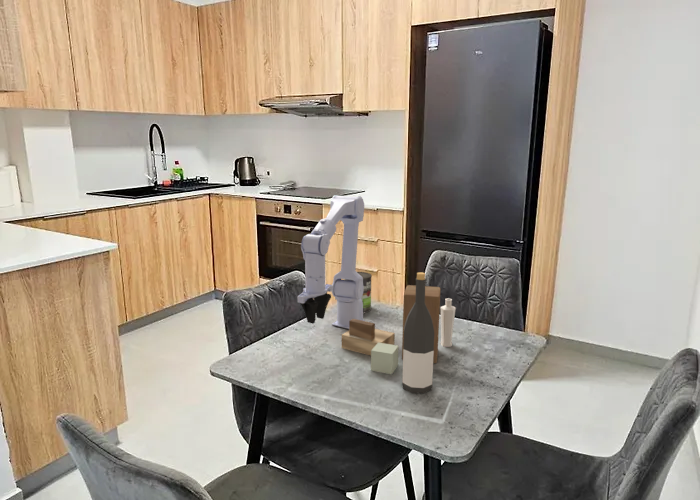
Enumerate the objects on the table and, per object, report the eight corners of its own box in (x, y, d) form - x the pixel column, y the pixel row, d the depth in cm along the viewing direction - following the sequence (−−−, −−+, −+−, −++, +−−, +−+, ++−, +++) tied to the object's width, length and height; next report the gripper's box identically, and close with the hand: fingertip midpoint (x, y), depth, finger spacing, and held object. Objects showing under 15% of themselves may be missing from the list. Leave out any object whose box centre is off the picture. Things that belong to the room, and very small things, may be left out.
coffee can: (376, 310, 183) (377, 274, 180) (360, 317, 175) (360, 280, 172) (354, 305, 189) (354, 269, 186) (338, 311, 181) (338, 275, 178)
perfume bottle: (453, 343, 152) (455, 297, 149) (454, 348, 148) (457, 301, 145) (438, 342, 153) (440, 296, 150) (439, 347, 148) (441, 301, 145)
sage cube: (377, 362, 139) (378, 342, 137) (398, 365, 137) (398, 345, 135) (370, 370, 133) (371, 350, 132) (391, 374, 131) (392, 353, 130)
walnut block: (353, 334, 148) (353, 318, 147) (374, 339, 144) (374, 323, 143) (349, 336, 146) (349, 320, 145) (371, 341, 142) (371, 325, 141)
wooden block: (436, 364, 137) (439, 296, 133) (401, 361, 139) (403, 294, 135) (437, 350, 147) (440, 286, 143) (404, 347, 149) (406, 284, 145)
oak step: (358, 337, 156) (358, 324, 155) (394, 346, 150) (394, 332, 149) (341, 348, 148) (341, 334, 147) (378, 357, 141) (379, 343, 140)
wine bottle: (426, 397, 119) (431, 279, 113) (396, 389, 123) (399, 274, 117) (437, 383, 126) (442, 271, 120) (408, 376, 130) (411, 267, 124)
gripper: (318, 268, 148) (318, 311, 151) (288, 279, 136) (289, 325, 138) (337, 271, 144) (337, 315, 147) (308, 282, 132) (309, 329, 135)
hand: (315, 320), depth 142 cm, fingers open, 4 cm apart
